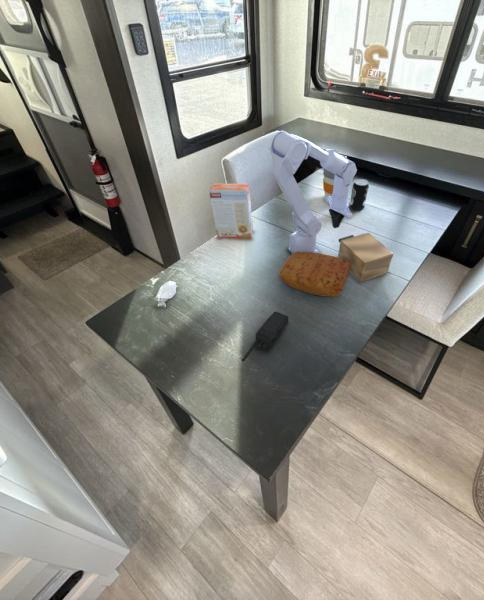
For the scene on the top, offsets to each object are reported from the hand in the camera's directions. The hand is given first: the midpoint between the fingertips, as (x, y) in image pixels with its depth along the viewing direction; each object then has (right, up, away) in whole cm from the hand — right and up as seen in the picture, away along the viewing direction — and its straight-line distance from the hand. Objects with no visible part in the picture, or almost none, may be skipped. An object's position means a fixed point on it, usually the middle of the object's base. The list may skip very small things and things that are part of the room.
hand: (335, 226), depth 121 cm
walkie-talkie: (-26, -41, -31) cm, 58 cm away
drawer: (+6, -13, -6) cm, 16 cm away
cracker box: (-40, -2, +8) cm, 40 cm away
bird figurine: (-60, -27, -16) cm, 67 cm away
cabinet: (+8, -16, -8) cm, 20 cm away
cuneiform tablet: (-10, -22, -13) cm, 28 cm away
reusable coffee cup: (+5, +19, +26) cm, 33 cm away
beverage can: (+14, +13, +20) cm, 28 cm away
